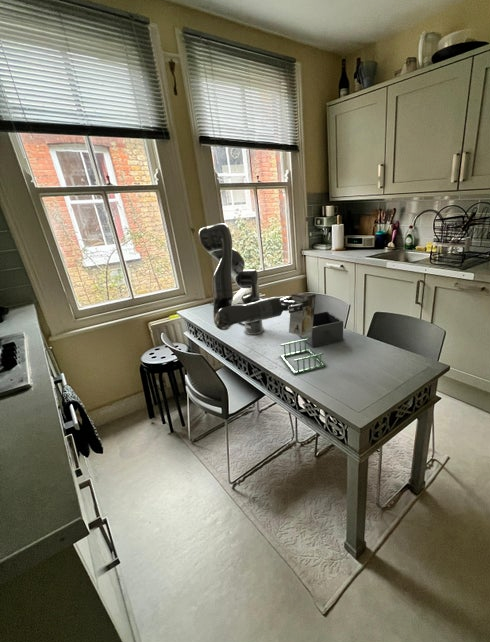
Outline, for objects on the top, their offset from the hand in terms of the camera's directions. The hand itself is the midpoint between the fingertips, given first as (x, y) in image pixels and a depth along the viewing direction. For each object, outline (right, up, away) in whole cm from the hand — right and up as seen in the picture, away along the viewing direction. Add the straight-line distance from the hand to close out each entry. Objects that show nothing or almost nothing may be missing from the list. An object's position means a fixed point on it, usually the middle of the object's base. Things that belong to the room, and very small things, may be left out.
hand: (303, 300), depth 127 cm
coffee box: (-1, -13, +5) cm, 14 cm away
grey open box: (+9, -15, +32) cm, 37 cm away
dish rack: (0, -25, +10) cm, 28 cm away
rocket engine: (-44, +8, +90) cm, 100 cm away
